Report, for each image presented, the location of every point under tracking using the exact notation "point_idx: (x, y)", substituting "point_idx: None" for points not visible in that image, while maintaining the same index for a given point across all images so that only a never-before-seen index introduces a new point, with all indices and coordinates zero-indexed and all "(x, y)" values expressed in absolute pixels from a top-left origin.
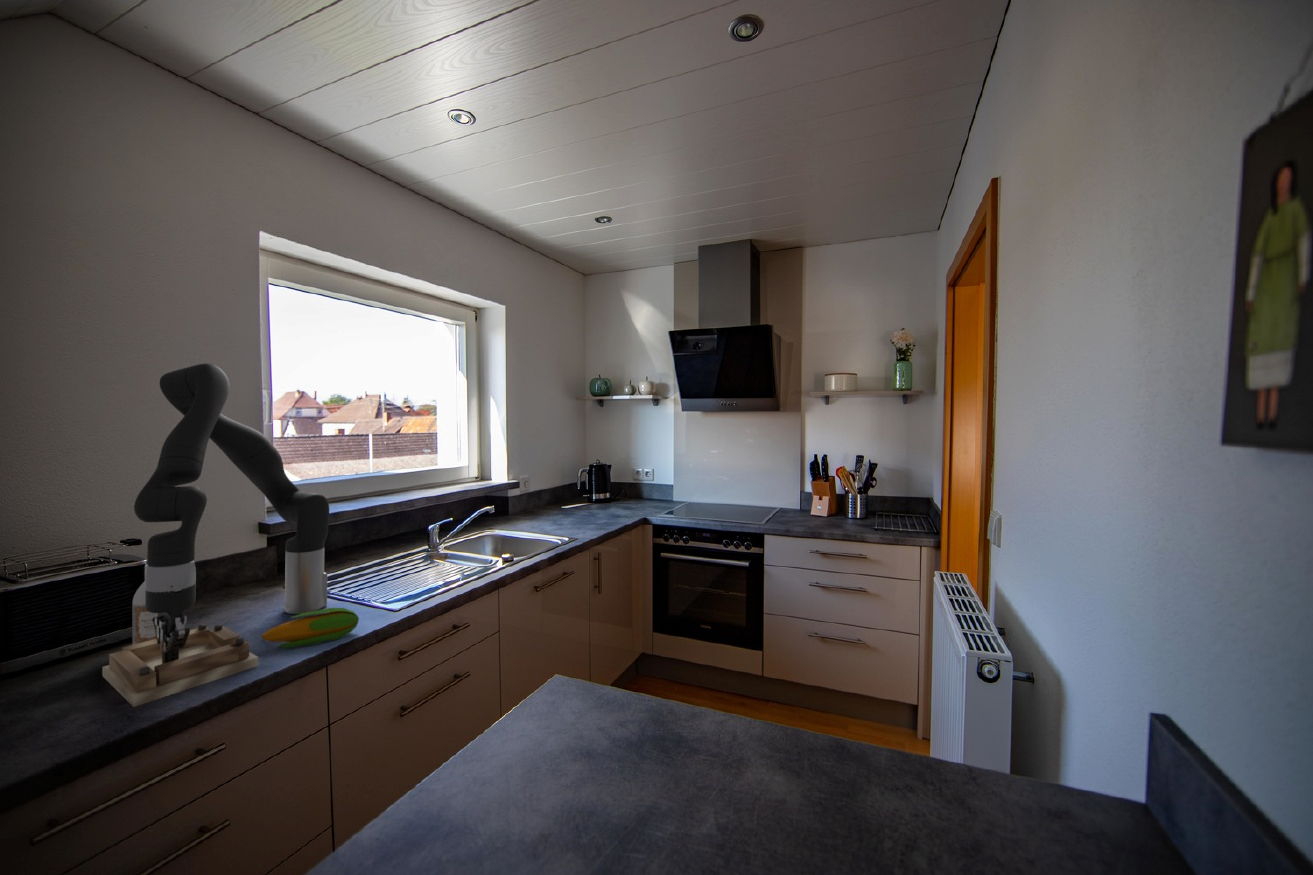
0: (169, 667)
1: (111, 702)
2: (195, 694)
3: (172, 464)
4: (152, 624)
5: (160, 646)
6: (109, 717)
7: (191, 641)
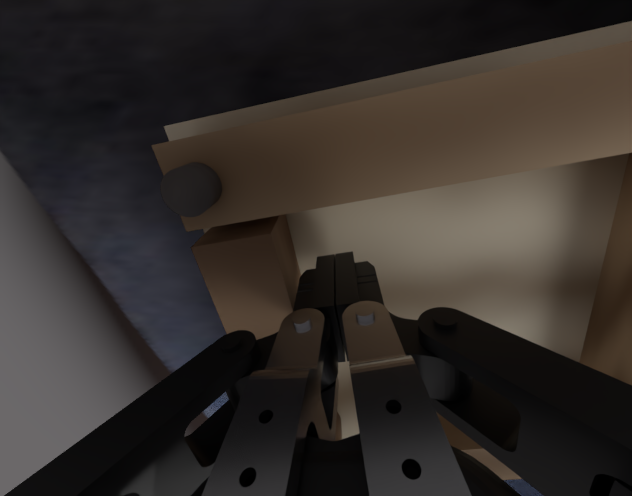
0: (208, 283)
1: (293, 48)
2: (181, 286)
3: None
4: None
5: (363, 315)
6: (132, 38)
7: (605, 360)
